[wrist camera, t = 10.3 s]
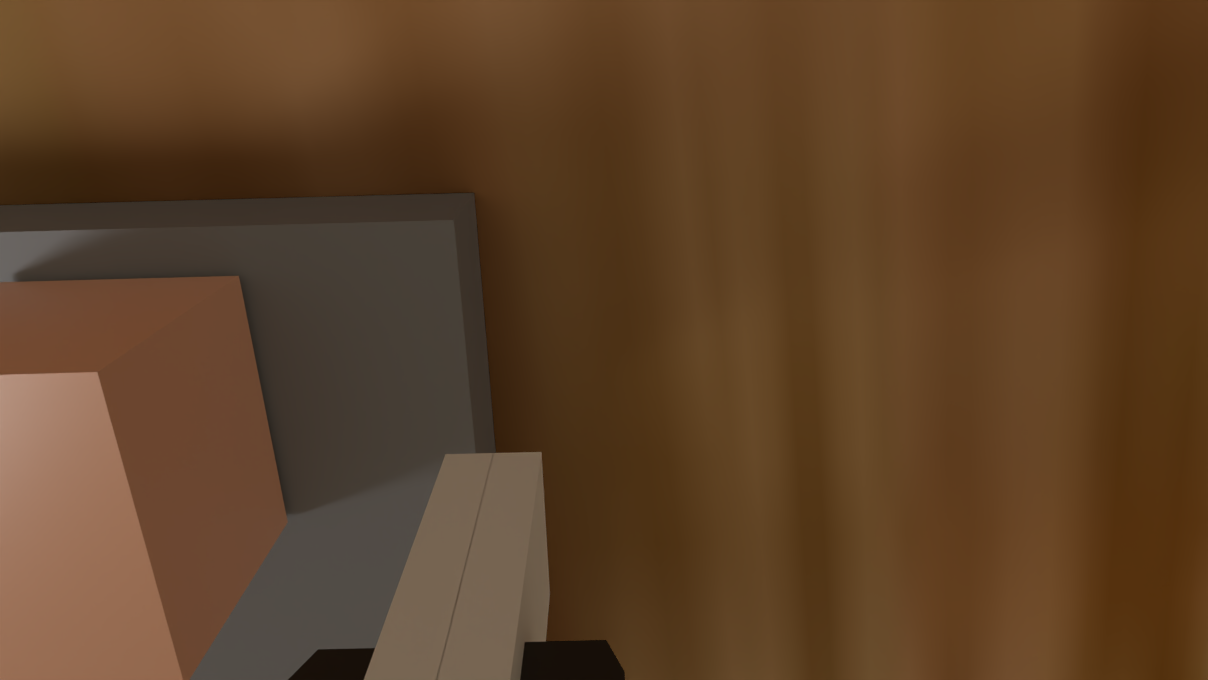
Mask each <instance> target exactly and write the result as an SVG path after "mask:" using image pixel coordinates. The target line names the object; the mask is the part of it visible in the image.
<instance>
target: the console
mask: <svg viewBox="0 0 1208 680" xmlns="http://www.w3.org/2000/svg"><path fill="white" fill-rule="evenodd" d="M211 276H239V279H240V284H241V289H242V294H243V299H244V304H245V309H246V314H247V319H248V324H249V329H250V334H251V339H252V344H253V349H254V354H255V360H256V365H257V370H258V375H259V380H260V385H261V390H262V395H263V400H264V405H265V410H266V415H267V420H268V425H269V430H270V435H271V440H272V445H273V450H274V455H275V460H276V465H277V470H278V475H279V480H280V485H281V490H282V495H283V501H284V506H285V511H286V516H287V521H288V523H287V524H286V526H285V527H284V529H283V531H282V532H281V534H280V535H279V537H278V539H277V540H276V542H275V543H274V545H273V547H272V548H271V550H270V551H269V553H268V555H267V556H266V558H265V559H264V561H263V563H262V564H261V566H260V567H259V569H258V571H257V572H256V574H255V575H254V577H253V579H252V580H251V582H250V583H249V585H248V587H247V588H246V590H245V591H244V593H243V595H242V596H241V598H240V599H239V601H238V603H237V604H236V606H235V607H234V609H233V611H232V612H231V614H230V615H229V617H228V619H227V620H226V622H225V623H224V625H223V627H222V628H221V630H220V632H219V633H218V635H217V636H216V638H215V640H214V641H213V643H212V644H211V646H210V648H209V649H208V651H207V652H206V654H205V656H204V657H203V659H202V660H201V662H200V664H199V665H198V667H197V668H196V670H195V672H194V673H193V675H192V676H191V678H190V680H288V679H289V678H290V677H291V676H292V675H293V674H294V673H295V672H296V671H297V670H298V669H299V668H300V667H301V666H302V665H303V664H304V663H305V662H306V661H307V660H308V659H309V658H310V657H311V656H312V655H313V654H314V653H315V652H316V651H317V650H318V649H355V648H375V647H376V645H377V642H378V639H379V636H380V634H381V631H382V628H383V625H384V623H385V620H386V617H387V614H388V612H389V609H390V606H391V603H392V600H393V598H394V595H395V592H396V589H397V587H398V584H399V581H400V578H401V576H402V573H403V570H404V567H405V565H406V562H407V559H408V556H409V554H410V551H411V548H412V545H413V543H414V540H415V537H416V534H417V532H418V529H419V526H420V523H421V521H422V518H423V515H424V512H425V510H426V507H427V504H428V501H429V499H430V496H431V493H432V490H433V488H434V485H435V482H436V479H437V477H438V474H439V471H440V468H441V466H442V463H443V460H444V457H445V454H474V453H496V449H495V437H494V425H493V413H492V401H491V389H490V377H489V365H488V353H487V341H486V329H485V317H484V305H483V293H482V281H481V269H480V257H479V245H478V233H477V221H476V209H475V197H474V193H448V194H410V195H372V196H334V197H297V198H259V199H221V200H183V201H146V202H108V203H70V204H32V205H0V282H26V281H63V280H100V279H137V278H174V277H211Z"/></svg>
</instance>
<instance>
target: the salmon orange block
mask: <svg viewBox="0 0 1208 680" xmlns="http://www.w3.org/2000/svg"><path fill="white" fill-rule="evenodd" d="M287 523H288V521H287V516H286V511H285V506H284V501H283V495H282V490H281V485H280V480H279V475H278V470H277V465H276V460H275V455H274V450H273V445H272V440H271V435H270V430H269V425H268V420H267V415H266V410H265V405H264V400H263V395H262V390H261V385H260V380H259V375H258V370H257V365H256V360H255V354H254V349H253V344H252V339H251V334H250V329H249V324H248V319H247V314H246V309H245V304H244V299H243V294H242V289H241V284H240V279H239V276H211V277H174V278H137V279H100V280H63V281H26V282H0V680H190V678H191V676H192V675H193V673H194V672H195V670H196V668H197V667H198V665H199V664H200V662H201V660H202V659H203V657H204V656H205V654H206V652H207V651H208V649H209V648H210V646H211V644H212V643H213V641H214V640H215V638H216V636H217V635H218V633H219V632H220V630H221V628H222V627H223V625H224V623H225V622H226V620H227V619H228V617H229V615H230V614H231V612H232V611H233V609H234V607H235V606H236V604H237V603H238V601H239V599H240V598H241V596H242V595H243V593H244V591H245V590H246V588H247V587H248V585H249V583H250V582H251V580H252V579H253V577H254V575H255V574H256V572H257V571H258V569H259V567H260V566H261V564H262V563H263V561H264V559H265V558H266V556H267V555H268V553H269V551H270V550H271V548H272V547H273V545H274V543H275V542H276V540H277V539H278V537H279V535H280V534H281V532H282V531H283V529H284V527H285V526H286V524H287Z"/></svg>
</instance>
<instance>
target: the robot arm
mask: <svg viewBox="0 0 1208 680" xmlns="http://www.w3.org/2000/svg"><path fill="white" fill-rule="evenodd" d="M549 600H550V585H549V569H548V552H547V535H546V519H545V502H544V485H543V469H542V452H517V453H474V454H445V457H444V460H443V463H442V466H441V468H440V471H439V474H438V477H437V479H436V482H435V485H434V488H433V490H432V493H431V496H430V499H429V501H428V504H427V507H426V510H425V512H424V515H423V518H422V521H421V523H420V526H419V529H418V532H417V534H416V537H415V540H414V543H413V545H412V548H411V551H410V554H409V556H408V559H407V562H406V565H405V567H404V570H403V573H402V576H401V578H400V581H399V584H398V587H397V589H396V592H395V595H394V598H393V600H392V603H391V606H390V609H389V612H388V614H387V617H386V620H385V623H384V625H383V628H382V631H381V634H380V636H379V639H378V642H377V645H376V647H375V648H355V649H318V650H317V651H316V652H315V653H314V654H313V655H312V656H311V657H310V658H309V659H308V660H307V661H306V662H305V663H304V664H303V665H302V666H301V667H300V668H299V669H298V670H297V671H296V672H295V673H294V674H293V675H292V676H291V677H290V678H289V679H288V680H625V674H624V670H623V669H622V667H621V665H620V663H619V662H618V660H617V658H616V656H615V655H614V653H613V651H612V649H611V648H610V646H609V644H608V642H607V641H606V640H588V641H546V634H547V623H548V611H549Z"/></svg>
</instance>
